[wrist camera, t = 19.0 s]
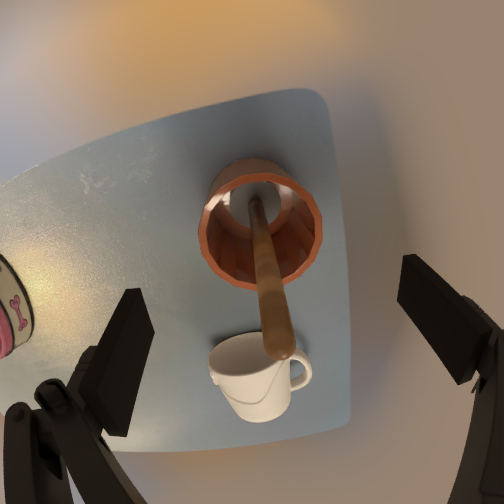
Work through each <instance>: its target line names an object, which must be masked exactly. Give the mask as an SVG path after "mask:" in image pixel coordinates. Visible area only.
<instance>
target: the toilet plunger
mask: <svg viewBox="0 0 504 504" xmlns="http://www.w3.org/2000/svg"><path fill="white" fill-rule="evenodd" d="M229 207H230V211H231V214H232V216H233V217H234V219H235V220H236V221H237V222H238V223H240V224H241V225H243V226H246V227H249V228H250V229H251V237H252V246H253V255H254V264H255V273H256V282H257V291H258V299H259V308H260V317H261V326H262V335H263V344H264V350H265V352H266V354H267V355H268V356H269V357H270V358H271V359H274V360H277V361H283V360H286V359H288V358H290V357H291V356H292V355H293V353H294V351H295V349H296V340H295V336H294V331H293V327H292V322H291V318H290V314H289V309H288V305H287V301H286V296H285V292H284V288H283V284H282V279H281V275H280V271H279V267H278V263H277V258H276V254H275V250H274V246H273V242H272V238H271V234H270V230H269V226H268V224H270V223H271V222H273V221H274V220H275V219H276V217H277V216H278V214H279V212H280V209H281V198H280V195H279V192H278V190H277V188H276V186H275V184H274V183H273V182H270V181H262V182H253V183H245V184H243V185H241V186H239V187H237V188H236V189H234V190H232V191H230V201H229Z"/></svg>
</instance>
